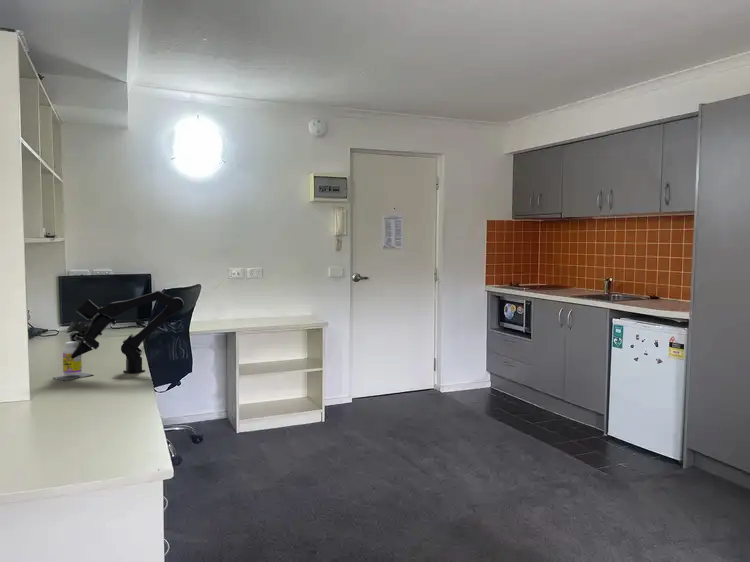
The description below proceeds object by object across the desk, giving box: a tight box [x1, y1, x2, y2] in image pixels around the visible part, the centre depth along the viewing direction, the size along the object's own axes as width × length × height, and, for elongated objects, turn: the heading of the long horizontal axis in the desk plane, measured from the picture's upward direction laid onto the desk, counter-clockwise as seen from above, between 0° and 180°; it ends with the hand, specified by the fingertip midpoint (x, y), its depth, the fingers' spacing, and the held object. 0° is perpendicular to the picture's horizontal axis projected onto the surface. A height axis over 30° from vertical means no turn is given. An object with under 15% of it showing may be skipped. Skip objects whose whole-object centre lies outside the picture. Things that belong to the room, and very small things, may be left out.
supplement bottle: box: [62, 341, 83, 376], centre depth 226 cm, size 7×7×13 cm
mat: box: [52, 372, 94, 381], centre depth 227 cm, size 8×12×1 cm, turn 149°
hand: (68, 356), depth 225 cm, fingers closed on supplement bottle, 7 cm apart
